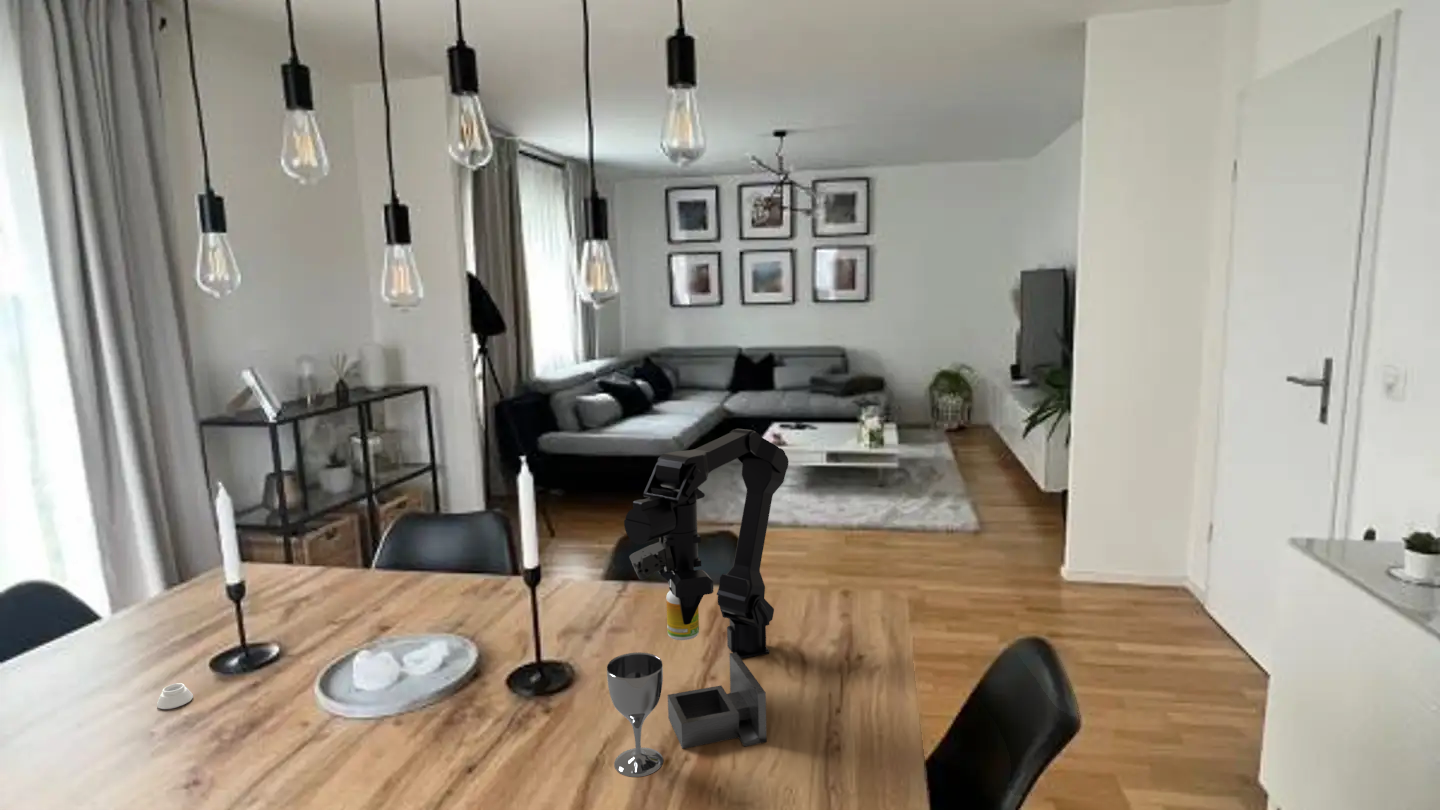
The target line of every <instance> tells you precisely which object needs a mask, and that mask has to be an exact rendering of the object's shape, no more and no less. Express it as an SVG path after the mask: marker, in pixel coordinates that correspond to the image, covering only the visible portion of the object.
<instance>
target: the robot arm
mask: <svg viewBox="0 0 1440 810" xmlns="http://www.w3.org/2000/svg"><path fill="white" fill-rule="evenodd" d="M734 460H737V462H739V463H740V464H741V477H742V480H743V482H744V486H745V488H746V493H745V495H746V496H745V499H744V505H743V506H744V507H743V511H742V516H741V522H740V523H741V524H740V528H739V532H738V534H739V535H738V539H737V543H736V545H737V546H736V550H735V557H734V560H733V565H732V567H731V568H730V569H729V571H728V572H727V573H722V574H721V575H720V577H719V585H718V589H717V592H716V596H717V605H718V606H719V609H720V612H721V615H722V618H724V619H729V626H728V625H727V627H726V630H727V632H726V634H727V639H726V640H727V641H726V643H727V647H728V649H729V651H730V652H731V653H735V652H736V653H737V654H738V655H739V657H740V658H741V659H746V658H750V657H752V658H753V657H757V656H764V655H769V654H770V650H769V648H768V647H767V629H766V627H767V626H770V623H771V622H772V620H773V617H774V612H775V608H774V607H772V605H771V604H770V603H769V602H768V601H767V600H766V599H765V594H766V585H765V582H764V580H763V577H762V574H761V572H760V571H761V563H762V557H763V552H764V547H765V542H766V541H765V540H766V536H767V530H768V524H769V518H770V512H771V507H772V501H773V496H774V494H775V493H776V492H777V491H778V489H779V488H780V487H781V486H782V484H783V483H784V481H785V477H786V473H787V470H788V467H789V458H788V456H787V455H786V452H785V451H784V449H782V448H780V447H779V446H778V445H776V444H774V443H773V442H771V441H769V440H767V439H766V438H764V437H763V436H761V435H760V434H759V432H757V431H755V430H753V429H743V428H735V429H732V430H731V431H729V433H726V434H724V435H722V436H721V437H719V438H716V439H714V440H712V441H709V442H707V443H705V444H703V445H700V446H699V447H697V448H695V449H690V450H689V449H688V450H676V451H675V450H674V451H670V452H665V453H663V454H661V455H660V456H659V457H658V458H657V462H656V463H655V465H654V468H653V470H652V473H651V476H650V477H649V480H648V482H647V484H646V487H645V489H644V491H643V493H642V494H643V497H644V499H636V500H634V501H632V509H630V510H628V512H627V513H626V515H625V519H624V521H623V525H624V530H625V533H626V535H627V537H628V538H629V540H630V541H631V542H632V543H634V544H636V545H644V544H647V543H649V542H650V543H651V542H652V541H655V540H657V539H659V541H658V542H655V543H653V544H650V545H647V546H645V547H643V548H641V549H639V550H637V551H635V552H633V553H631V554H630V555H629V560H630V563H631V564H632V567H633V569H634V572H635V574H636V575H637V578H638V579H639V580H645V579H648V578H649V576H651V575H653V574H655V573H657V572H658V573H659V574H660V576H661V577H663V578H664V579H665V580H666V581H667V584H668V586H669V587H668V589H669V591H671V592H672V594H673V595H675V597H678V599H679V604H680V609H681V614H682V619H683V623H684V624H685V625H686V624H690V623H691V621H692V619H693V617H694V614H695V612H696V610H697V608H698V609H699V605H700V603H701V601H702V599H703V597H704V596H706V595H712V594H713V593H714V580H713V579H712V578H711V577H710V575H709V574H708V573H707V572H706V571H704V570H703V569H694V568H699V567H702V560H701V558H700V557H699V546H698V545H699V543H701V542H702V541H701V540H702V538H701V535H700V534H699V533H698V512H697V511H698V510H697V509H698V508H697V507H698V506H697V505H698V503H697V501H698V500H701V499H703V498H704V497H705V496H706V494H705V493H704V492H703V491H702V490H700V489H699V488H700V487H701V486H702V485H703V484H704V483H705V482H706V481H708V477H709V474H710V473H711V472H713V471H716V469H719V468H721V467H723V466H724V465H726V464H729V463H731V462H733V461H734ZM661 487H662V488H661ZM666 488H668V489H666ZM670 579H671V587H670Z"/></svg>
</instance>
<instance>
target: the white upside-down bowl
mask: <svg viewBox="0 0 1440 810" xmlns="http://www.w3.org/2000/svg"><path fill="white" fill-rule="evenodd" d="M193 697H194V695H193V692H191V690H189V688H188V687H186V686H185V684H184V683H182V682H178V683H172V684H169V685H167V686H165V687H163V688H162V691H161V693H160V695H159V698H158V700H157V703H156V707H157V708H158V709H162V710H171V709H175V708H179V707H181V706H184V705H185V704H188V703H189V702H190V701H191V700H193Z"/></svg>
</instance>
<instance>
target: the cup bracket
mask: <svg viewBox="0 0 1440 810" xmlns="http://www.w3.org/2000/svg"><path fill="white" fill-rule="evenodd" d="M729 685H730V686H729V690H730V691H729V693H727V692H726V691H725V689H724V687H723V686H722V685H715V686H711V687H710V686H709V687H705V688H699V689H692V690H688V691H682V692H675V693H670V694H667V712H668V716H667V717H668V721H669V722H670V724H671V727H672V729H673V732H674V733H675V735H676V738H677V739H678V743H679V744H680V747H681V748H682V750H683V749H689V748H694V747H699V746H702V745H709V744H713V743H717V742H723V741H728V740H734V739H739V741H740V742H741V744H742V746H743V747H749V746H754V745H758V744H759V745H760V744H764V743H767V693H766V691H765V689H764V688H763V686H762V685H761V684H760V682H759V681H758V680H757V679H756V678H755V676H754V674H753V673H752V671H750V669H749V667H748V666H747V665H746V663H745V662H744V660H743V658H740V657H739V655H738V654H737V653H736V652H735V653H733V652H731V653H729Z"/></svg>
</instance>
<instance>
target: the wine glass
mask: <svg viewBox="0 0 1440 810" xmlns="http://www.w3.org/2000/svg"><path fill="white" fill-rule="evenodd" d="M663 666H664V665H663V660H662V659H661V658H660V657H659V656H657V655H655V654H653V653H648V652H629V653H624V654H621V655H618V656H616V657H614V658H613V659H611V660H610V661H609V662H608V663H607V665H606V679H607V688H608V692H609V696H610V700H611V702H612V704H613V707H614V708H615V709H616V711H617V712H618V713H620V714H621V715H622V716H623V718H626V720H628V721H629V723H630V725H631V726H632V729H633V736H634V743H635V747H634V748H629V749H627V750H625V751H623V752H621V753H620V754H619V755H617V757H616V758H615V760H614V763H613V764H614V769H615V770H616V771H617V772H618V773H619V774H620V775H622V776H625V777H631V778H639V777H645V776H649V775H651V774H654V773H655V772H657V771H658V770H659V769H661V767H662V766H663V764H664V757H663V754H661V753H660V752H659V751H658V750H656V749H654V748H651V747H642V745H641V743H642V742H641V740H642V727H643V725H644V722H645V720H646V719H647V718H648V716H650V714H651V713H653V712H652V711H654V709H655V708H656V707H657V705H659V701H660V699H661V695H662V690H663V681H664V667H663Z"/></svg>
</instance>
